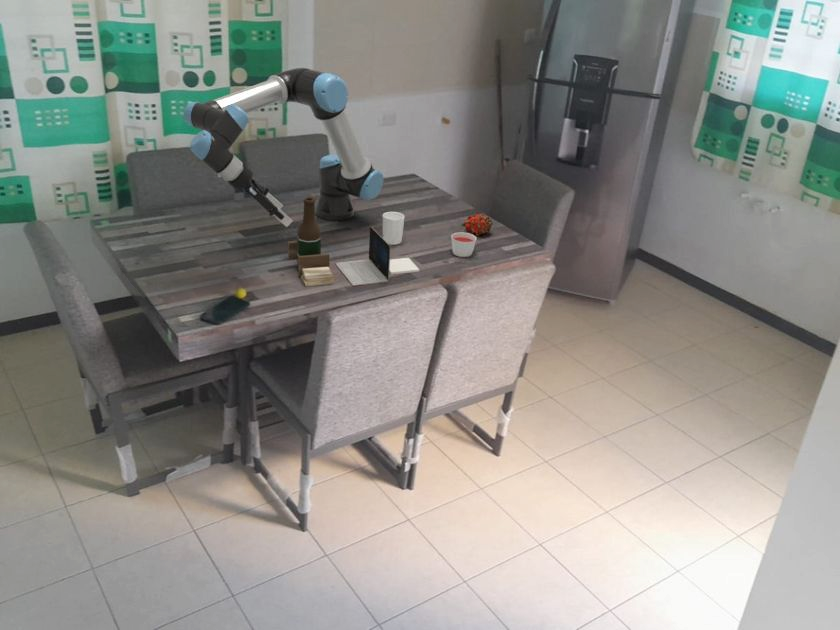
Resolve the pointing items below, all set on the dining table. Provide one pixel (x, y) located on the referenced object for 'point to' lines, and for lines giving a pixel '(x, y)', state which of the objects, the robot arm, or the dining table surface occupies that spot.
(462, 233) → the cup of red liquid
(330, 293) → the dining table surface
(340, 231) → the dining table surface
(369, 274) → the laptop
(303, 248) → the beer bottle
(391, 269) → the placing pad
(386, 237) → the white cup
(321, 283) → the bookends with books
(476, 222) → the dragon fruit
